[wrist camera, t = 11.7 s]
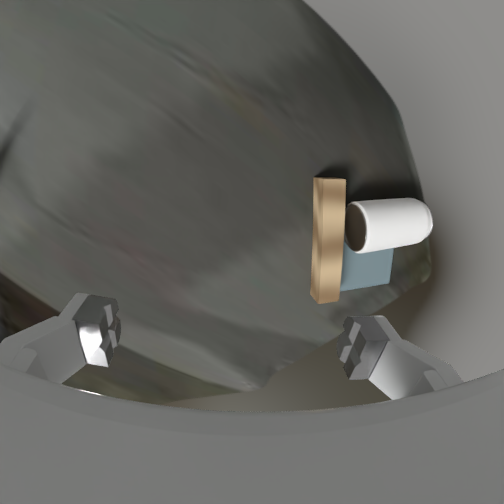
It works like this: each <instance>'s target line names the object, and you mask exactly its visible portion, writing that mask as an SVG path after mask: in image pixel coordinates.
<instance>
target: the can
mask: <svg viewBox="0 0 504 504" xmlns="http://www.w3.org/2000/svg"><path fill="white" fill-rule="evenodd" d="M432 228H433V216H432V212H431V210H430V208H429V207H428V205H427V204H426V203H425V202H423V201H420V200H417V199H414V198H397V199H381V200H367V201H356V202H351V203H349V204H348V206H347V207H346V208H345V225H344V239H345V242H346V244H347V245H348V247H349V248H350V249H351V250H352V251H354V252H355V253H367V252H373V251H379V250H384V249H390V248H395V247H400V246H406V245H411V244H415V243H419V242H421V241H422V240H423V239H425V238H427V237H428V236H429V235H430V233H431V231H432Z"/></svg>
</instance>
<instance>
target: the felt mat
mask: <svg viewBox="0 0 504 504" xmlns="http://www.w3.org/2000/svg"><path fill="white" fill-rule="evenodd" d="M393 250H394V248H390V249H384V250H379V251H373V252H367V253H355V252H354V251H352V250H351V249H350V248H349V247H348V245H347V244H346V242H345V239H344V243H343V258H342V271H341V282H340V291H345V290H351V289H357V288H363V287H369V286H375V285H381V284H386V283H389V280H390V273H391V266H392V258H393Z"/></svg>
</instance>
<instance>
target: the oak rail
mask: <svg viewBox="0 0 504 504" xmlns="http://www.w3.org/2000/svg"><path fill="white" fill-rule="evenodd" d="M345 199H346V179H341V178H335V177H314V198H313V247H312V272H311V291H310V295H311V296H312V297H313V298H314V299H315V300H316V302H317V303H318V304H321V303H328V302H334V301H339V292H340V282H341V271H342V258H343V243H344V225H345Z"/></svg>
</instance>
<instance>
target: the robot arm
mask: <svg viewBox="0 0 504 504" xmlns="http://www.w3.org/2000/svg"><path fill="white" fill-rule="evenodd" d="M118 310H119V309H118V303H117V300H116V299H113V298H107V297H101V296H96V295H90V294H84V293H76V294H75V296H74V297H73V298H72V299H71V301H70V302H69V303H68V305H67V306H66V307H65V308H64V310H63V311H62V312H61V314H60V315H59V316H58V317H56V316H54V317H52V318H50V319H47V320H45V321H43V322H41V323H38V324H36V325H34V326H32V327H29V328H27V329H25V330H23V331H21V332H18V333H16V334H14V335H12V336H10V337H7V338H5V339H4V340H3V341H2V342H1V344H0V504H504V369H502V370H499V371H497V372H494V373H491V374H489V375H486V376H483V377H480V378H477V379H474V380H471V381H468V382H463V380H462V379H461V378H460V377H459V375H458V374H457V372H456V371H455V370H454V369H453V367H452V366H451V365H450V364H448V363H446V362H444V361H442V360H440V359H439V358H437V357H435V356H433V355H431V354H430V353H428V352H426V351H424V350H422V349H421V348H419V347H417V346H415V345H413V344H412V343H410V342H408V341H406V340H402V339H401V338H400V336H399V335H398V334H397V333H396V331H395V330H394V328H393V327H392V326H391V324H390V323H389V322H388V320H387V319H386V318H385V317H384V316H355V317H347V318H346V319H345V321H344V324H343V327H344V330H345V331H344V332H343V333H341V334H340V335H339V338H338V341H337V354H338V357H339V359H340V360H341V361H343V362H344V363H345V365H344V367H343V368H344V370H345V372H346V375H347V377H348V379H349V380H356V379H369V380H370V381H371V382H372V383H373V384H374V385H376V386H377V387H378V388H379V389H380V390H381V391H383V392H384V393H385V394H386V395H387V396H389V397H390V398H391V399H392V400H390V401H386V402H379V403H373V404H367V405H359V406H351V407H343V408H333V409H321V410H307V411H286V412H285V411H284V412H235V411H214V410H199V409H188V408H179V407H170V406H162V405H155V404H148V403H142V402H136V401H130V400H125V399H119V398H114V397H110V396H105V395H100V394H96V393H92V392H88V391H84V390H80V389H76V388H72V387H69V386H65V385H61V383H63V382H64V381H65V380H66V379H68V378H69V377H70V376H72V375H73V374H74V373H76V372H77V371H78V370H79V369H81V368H82V367H83V366H85V365H86V363H89V364H94V365H100V366H106V367H108V366H109V364H110V362H111V359H112V357H113V354H114V353H113V348H114V347H116V346H117V345H118V342H119V339H120V334H121V324H120V320H119V318H118V317H117V316H116V314H117V312H118Z"/></svg>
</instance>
